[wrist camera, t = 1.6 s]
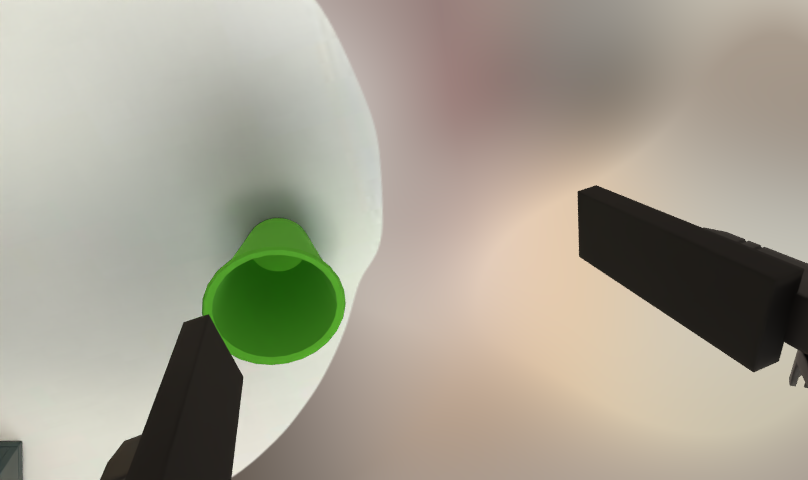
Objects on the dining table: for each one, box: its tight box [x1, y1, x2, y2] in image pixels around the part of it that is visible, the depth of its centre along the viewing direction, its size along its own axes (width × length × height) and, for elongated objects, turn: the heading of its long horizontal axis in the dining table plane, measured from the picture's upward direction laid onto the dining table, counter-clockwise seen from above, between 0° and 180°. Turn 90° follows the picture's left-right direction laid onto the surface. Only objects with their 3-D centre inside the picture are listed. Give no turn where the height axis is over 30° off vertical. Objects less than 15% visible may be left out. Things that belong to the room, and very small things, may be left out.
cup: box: [202, 218, 345, 365], centre depth 32 cm, size 9×9×11 cm
